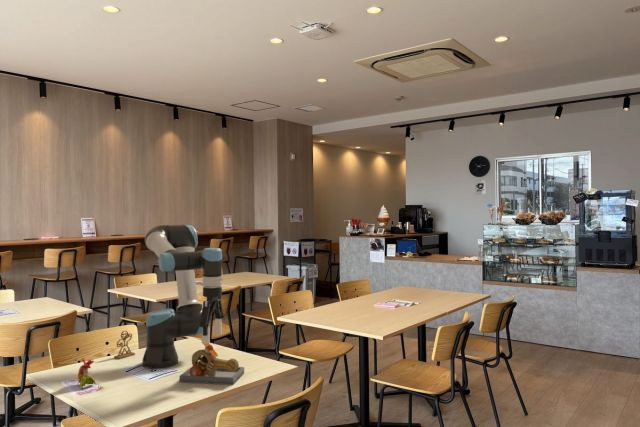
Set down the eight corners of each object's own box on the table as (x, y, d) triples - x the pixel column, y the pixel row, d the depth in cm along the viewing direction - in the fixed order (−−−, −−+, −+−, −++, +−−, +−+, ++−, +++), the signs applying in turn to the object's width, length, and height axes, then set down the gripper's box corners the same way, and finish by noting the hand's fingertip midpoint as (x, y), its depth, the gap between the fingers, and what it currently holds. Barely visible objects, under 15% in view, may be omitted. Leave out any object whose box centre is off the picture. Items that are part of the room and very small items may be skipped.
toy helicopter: (198, 371, 200) (198, 338, 201) (243, 377, 193) (243, 342, 193) (186, 378, 193) (186, 343, 193) (232, 384, 185) (232, 348, 186)
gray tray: (179, 382, 191) (179, 375, 191) (193, 371, 205) (193, 365, 205) (233, 384, 188) (233, 378, 188) (244, 373, 202) (244, 367, 202)
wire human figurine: (118, 359, 222) (118, 333, 222) (113, 358, 224) (113, 332, 224) (135, 354, 230) (135, 329, 230) (129, 353, 232) (129, 328, 232)
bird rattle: (72, 392, 186) (82, 387, 181) (67, 363, 189) (77, 358, 184) (89, 388, 191) (99, 383, 186) (83, 360, 194) (93, 354, 189)
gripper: (210, 291, 184) (209, 347, 184) (231, 282, 208) (231, 331, 209) (191, 291, 185) (190, 346, 185) (214, 281, 209) (214, 330, 210)
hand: (212, 338), depth 197 cm, fingers open, 13 cm apart
